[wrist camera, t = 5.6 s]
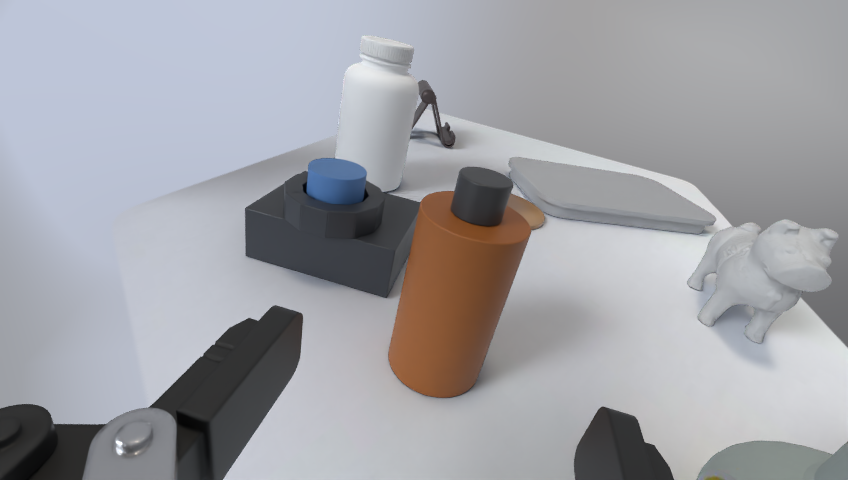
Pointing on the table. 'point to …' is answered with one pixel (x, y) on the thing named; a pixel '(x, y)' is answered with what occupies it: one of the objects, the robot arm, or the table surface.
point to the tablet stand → (430, 98)
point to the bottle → (456, 283)
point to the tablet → (606, 197)
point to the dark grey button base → (333, 235)
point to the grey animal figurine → (763, 270)
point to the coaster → (527, 211)
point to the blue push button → (336, 181)
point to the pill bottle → (378, 111)
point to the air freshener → (775, 463)
